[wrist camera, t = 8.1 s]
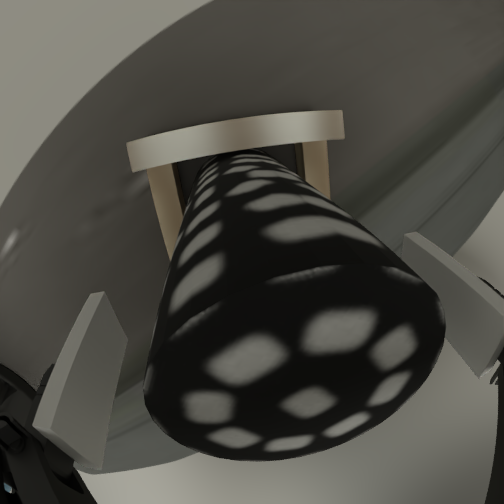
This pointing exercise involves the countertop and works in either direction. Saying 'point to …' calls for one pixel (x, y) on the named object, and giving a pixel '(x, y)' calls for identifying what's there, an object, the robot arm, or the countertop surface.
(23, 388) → the robot arm
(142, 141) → the guide channel
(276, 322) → the white-spotted black cylinder
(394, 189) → the countertop surface
